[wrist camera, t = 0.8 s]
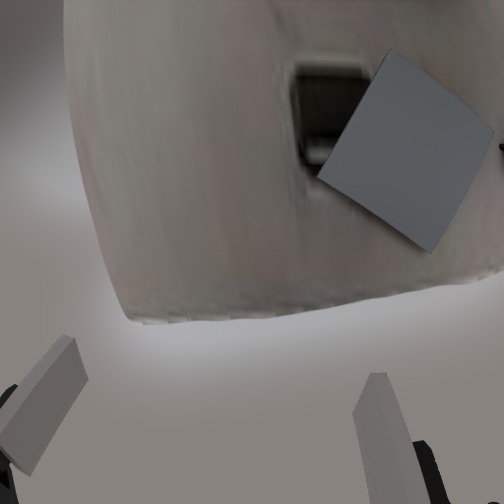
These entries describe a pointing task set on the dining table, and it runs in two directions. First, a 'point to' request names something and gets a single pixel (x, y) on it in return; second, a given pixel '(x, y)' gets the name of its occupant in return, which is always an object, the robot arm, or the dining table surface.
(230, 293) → the dining table surface
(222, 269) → the dining table surface
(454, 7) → the dining table surface
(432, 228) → the riser
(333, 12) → the dining table surface
